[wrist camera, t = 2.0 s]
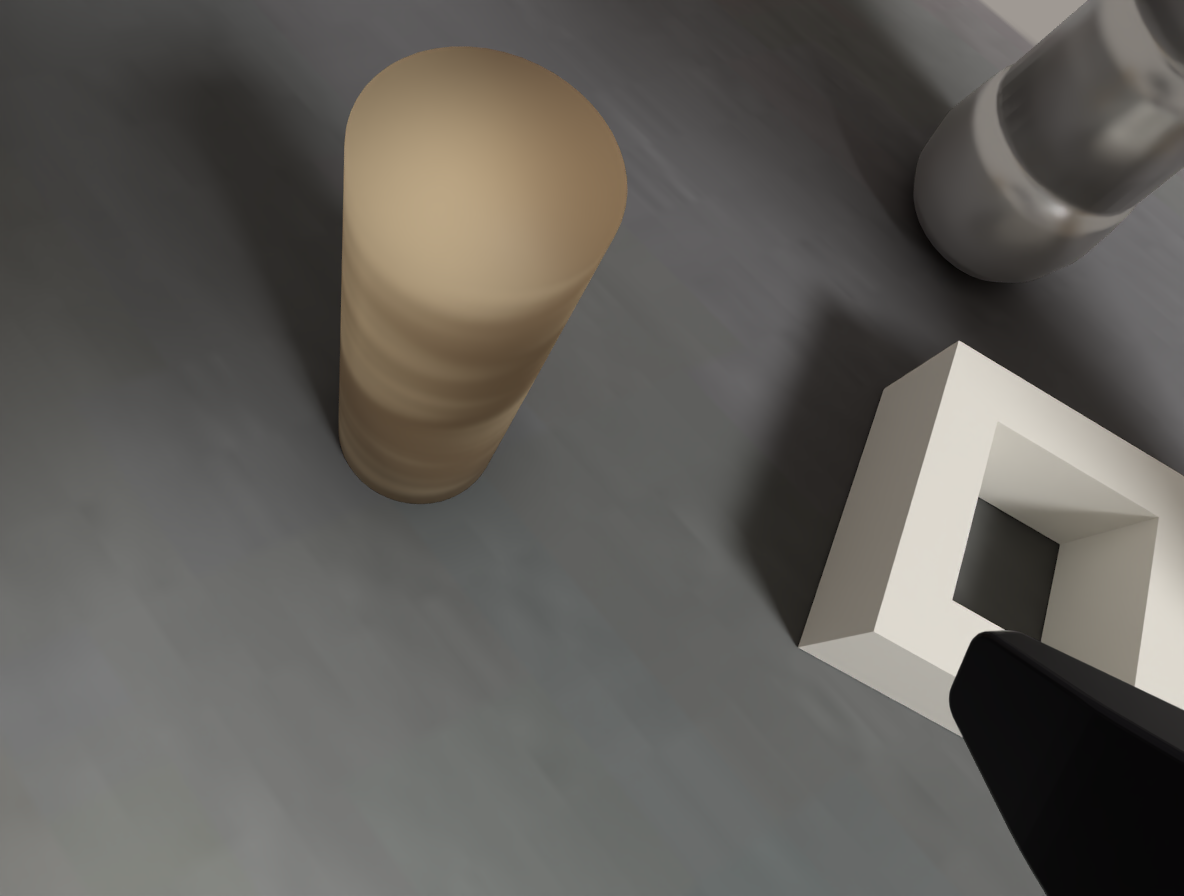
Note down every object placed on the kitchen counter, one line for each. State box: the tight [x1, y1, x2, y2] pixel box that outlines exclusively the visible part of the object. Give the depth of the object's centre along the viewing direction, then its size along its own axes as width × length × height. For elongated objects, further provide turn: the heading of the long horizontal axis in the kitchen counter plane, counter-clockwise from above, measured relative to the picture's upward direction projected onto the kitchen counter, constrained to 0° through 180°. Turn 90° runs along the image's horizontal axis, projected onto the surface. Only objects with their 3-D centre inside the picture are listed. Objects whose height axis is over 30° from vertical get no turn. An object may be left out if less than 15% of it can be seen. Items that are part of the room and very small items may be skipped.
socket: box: [798, 341, 1184, 737], centre depth 23 cm, size 9×9×4 cm
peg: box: [339, 47, 627, 504], centre depth 17 cm, size 4×4×11 cm
